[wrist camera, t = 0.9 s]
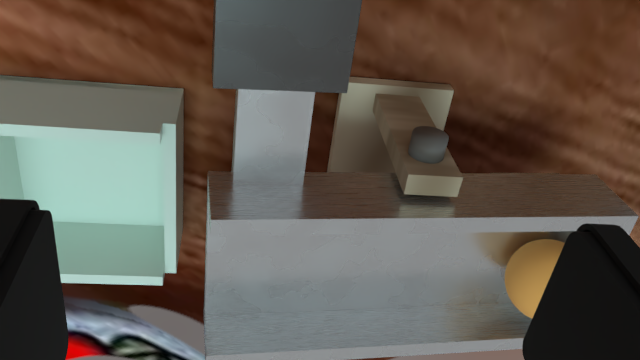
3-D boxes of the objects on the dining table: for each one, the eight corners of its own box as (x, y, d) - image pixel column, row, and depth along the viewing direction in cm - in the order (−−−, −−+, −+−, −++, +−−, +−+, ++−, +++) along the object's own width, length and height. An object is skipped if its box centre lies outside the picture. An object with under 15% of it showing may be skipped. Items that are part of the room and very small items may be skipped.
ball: (567, 218, 31) (625, 270, 28) (542, 278, 33) (593, 332, 30) (501, 227, 29) (554, 283, 26) (479, 289, 31) (526, 347, 28)
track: (651, -39, 27) (746, -1, 22) (526, 274, 36) (574, 345, 32) (213, -81, 23) (220, -46, 18) (202, 285, 32) (205, 368, 28)
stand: (452, 75, 33) (510, 159, 25) (404, 260, 40) (439, 368, 32) (343, 67, 32) (370, 151, 25) (313, 257, 39) (328, 367, 32)
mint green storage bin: (183, 88, 32) (162, 182, 24) (183, 228, 37) (165, 342, 29) (-5, 74, 30) (-88, 169, 23) (21, 222, 35) (-41, 340, 28)
